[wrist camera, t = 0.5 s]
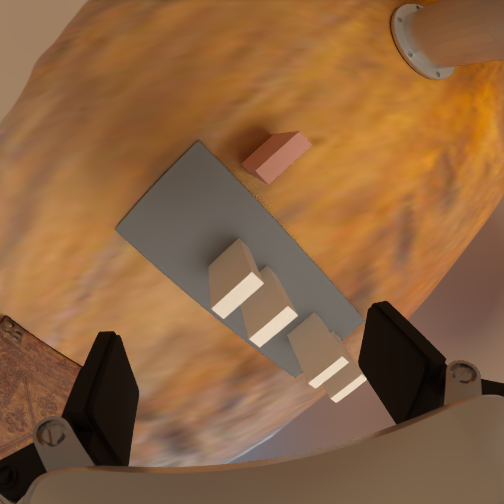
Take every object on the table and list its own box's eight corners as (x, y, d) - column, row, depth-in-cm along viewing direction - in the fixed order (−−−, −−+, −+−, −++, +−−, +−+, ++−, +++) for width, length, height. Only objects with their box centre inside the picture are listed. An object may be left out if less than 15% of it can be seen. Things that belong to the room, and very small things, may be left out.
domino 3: (267, 265, 37) (287, 305, 28) (275, 273, 38) (298, 315, 28) (237, 292, 38) (248, 339, 28) (246, 299, 38) (259, 347, 29)
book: (-1, 349, 36) (-73, 475, 8) (6, 314, 34) (-90, 452, 6) (119, 420, 44) (101, 568, 16) (138, 395, 42) (121, 567, 14)
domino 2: (273, 134, 32) (300, 130, 23) (282, 145, 33) (312, 145, 24) (240, 163, 33) (255, 170, 24) (250, 174, 34) (268, 185, 24)
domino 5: (333, 330, 42) (361, 374, 33) (338, 336, 43) (367, 379, 33) (307, 352, 43) (330, 398, 34) (313, 357, 43) (336, 402, 34)
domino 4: (314, 311, 40) (342, 356, 31) (320, 318, 41) (348, 362, 32) (286, 335, 41) (308, 383, 32) (293, 340, 42) (315, 388, 32)
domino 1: (238, 237, 35) (251, 271, 26) (248, 246, 36) (264, 283, 27) (208, 266, 36) (211, 308, 27) (218, 274, 36) (223, 319, 27)
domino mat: (198, 140, 31) (198, 140, 31) (363, 318, 43) (364, 320, 43) (116, 228, 33) (114, 229, 33) (294, 375, 45) (295, 377, 44)
